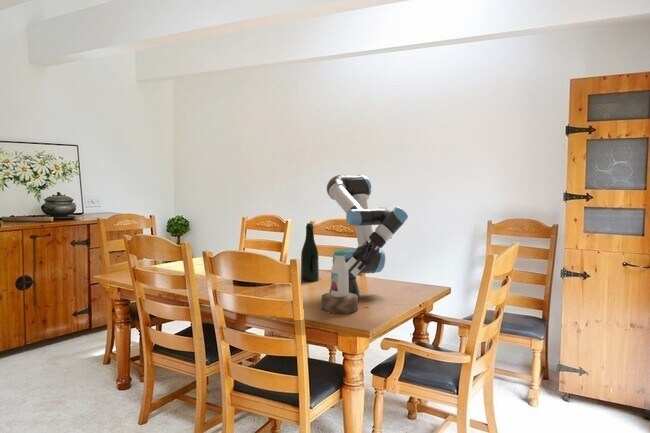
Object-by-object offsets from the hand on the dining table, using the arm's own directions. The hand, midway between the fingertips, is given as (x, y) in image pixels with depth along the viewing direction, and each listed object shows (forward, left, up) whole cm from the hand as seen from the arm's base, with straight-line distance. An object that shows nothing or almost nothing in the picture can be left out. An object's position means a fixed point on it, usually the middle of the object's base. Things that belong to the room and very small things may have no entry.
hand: (348, 271), depth 221 cm
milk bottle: (-4, 0, -11) cm, 12 cm away
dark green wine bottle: (-27, +62, -17) cm, 70 cm away
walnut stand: (-4, -1, -17) cm, 17 cm away
